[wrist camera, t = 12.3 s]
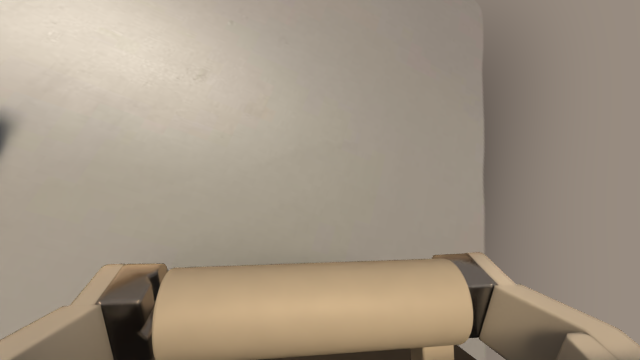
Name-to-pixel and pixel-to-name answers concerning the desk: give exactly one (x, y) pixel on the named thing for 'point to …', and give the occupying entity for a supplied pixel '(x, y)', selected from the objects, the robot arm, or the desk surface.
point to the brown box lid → (314, 312)
